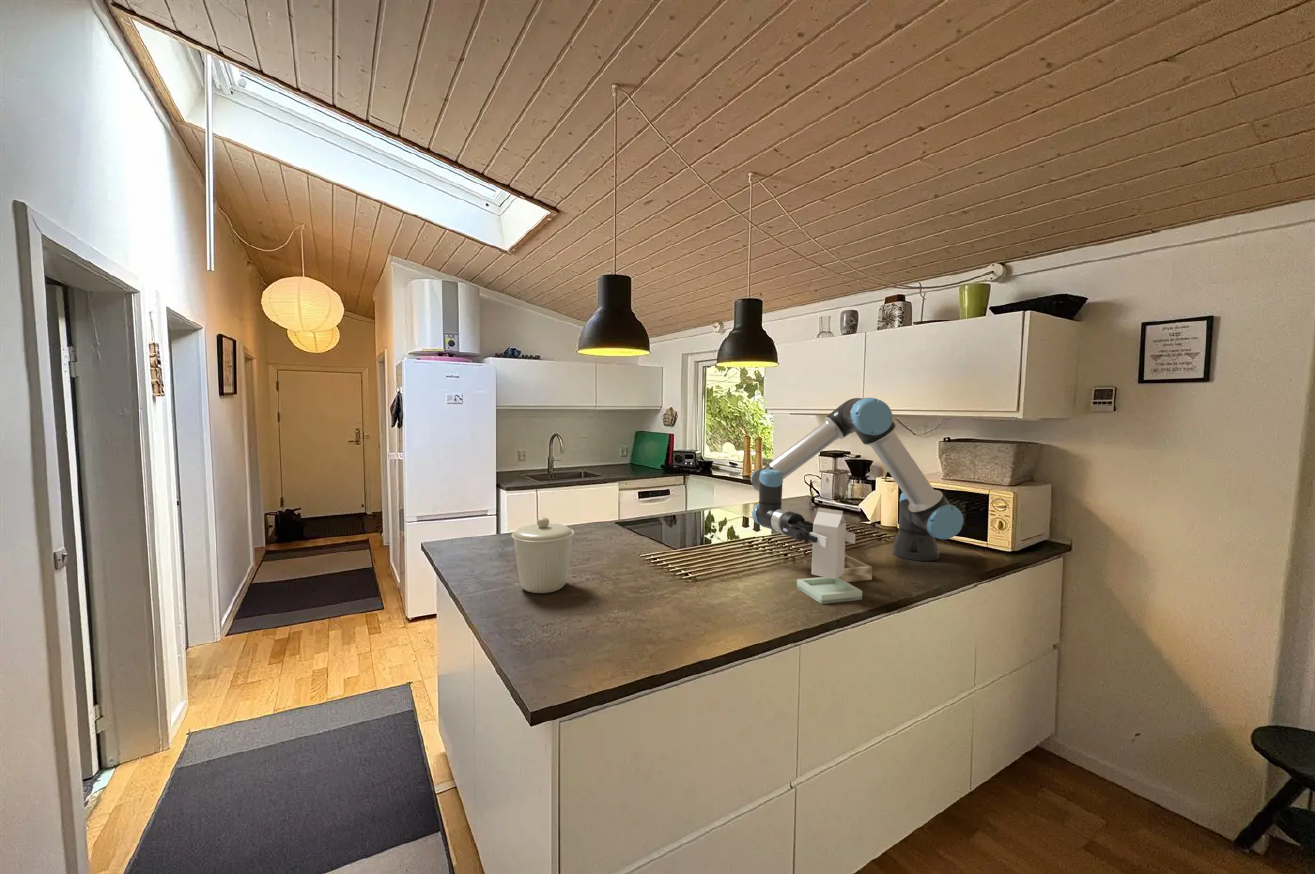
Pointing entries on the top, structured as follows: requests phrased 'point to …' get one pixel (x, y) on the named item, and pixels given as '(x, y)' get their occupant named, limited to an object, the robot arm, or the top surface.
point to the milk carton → (829, 544)
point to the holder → (855, 570)
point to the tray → (829, 590)
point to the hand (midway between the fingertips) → (840, 540)
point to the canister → (543, 555)
